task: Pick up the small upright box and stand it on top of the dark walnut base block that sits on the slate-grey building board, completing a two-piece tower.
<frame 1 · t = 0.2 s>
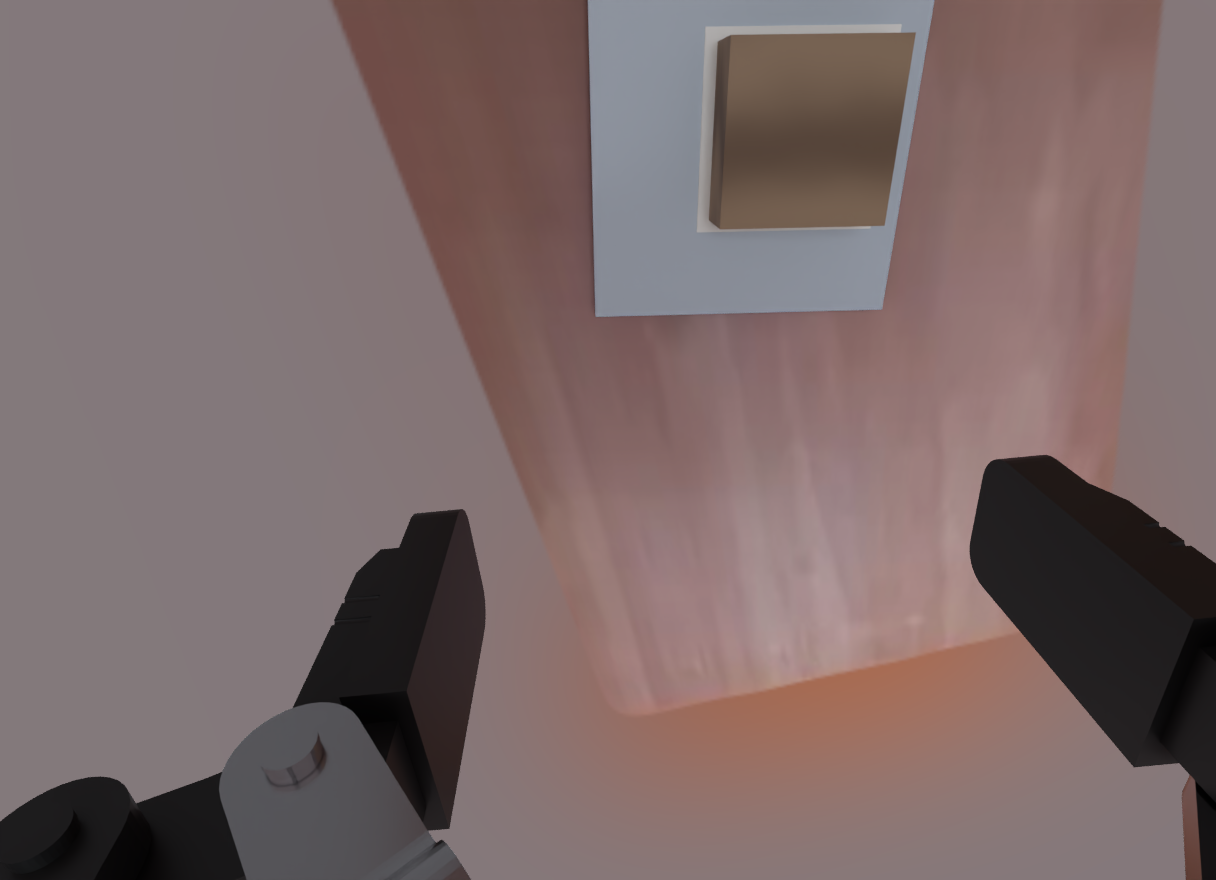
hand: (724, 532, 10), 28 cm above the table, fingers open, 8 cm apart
board: (746, 155, 34), on the table
base block: (793, 134, 33), point 1 cm above the table, touching board
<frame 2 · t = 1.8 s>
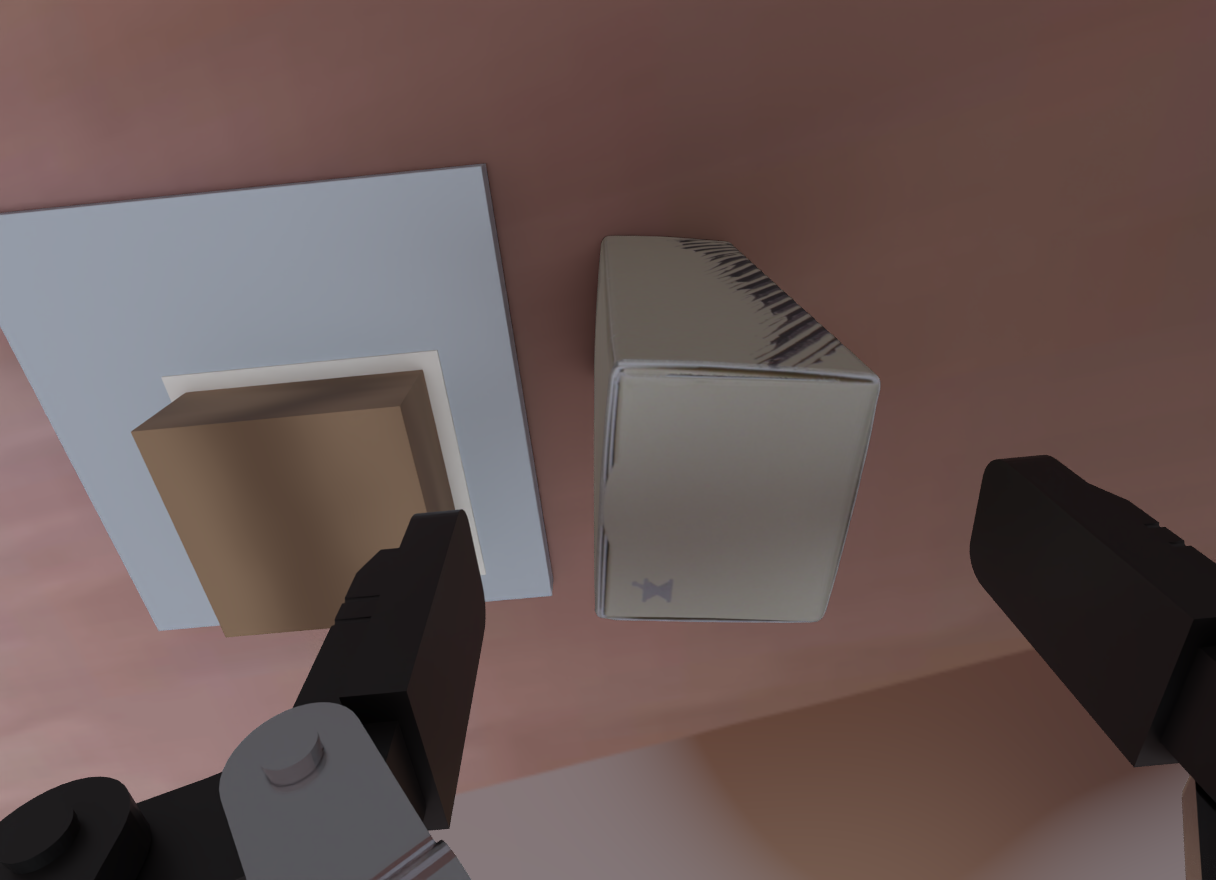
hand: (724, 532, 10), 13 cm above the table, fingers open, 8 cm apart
box: (657, 305, 23), on the table
board: (304, 423, 24), on the table
base block: (336, 484, 24), point 1 cm above the table, touching board
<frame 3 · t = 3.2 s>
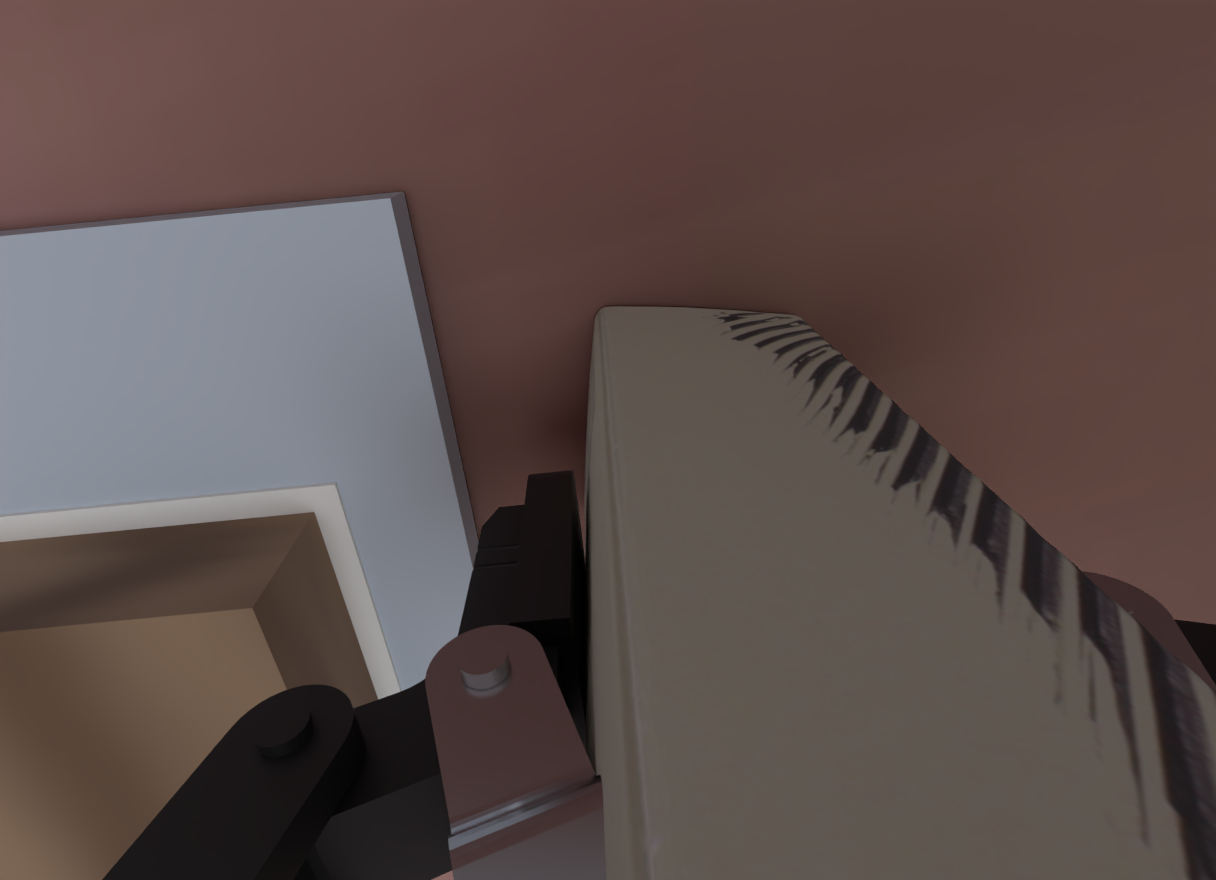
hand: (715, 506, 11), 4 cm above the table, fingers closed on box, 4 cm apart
box: (682, 407, 15), on the table, touching gripper
board: (146, 576, 16), on the table
base block: (195, 669, 16), point 1 cm above the table, touching board
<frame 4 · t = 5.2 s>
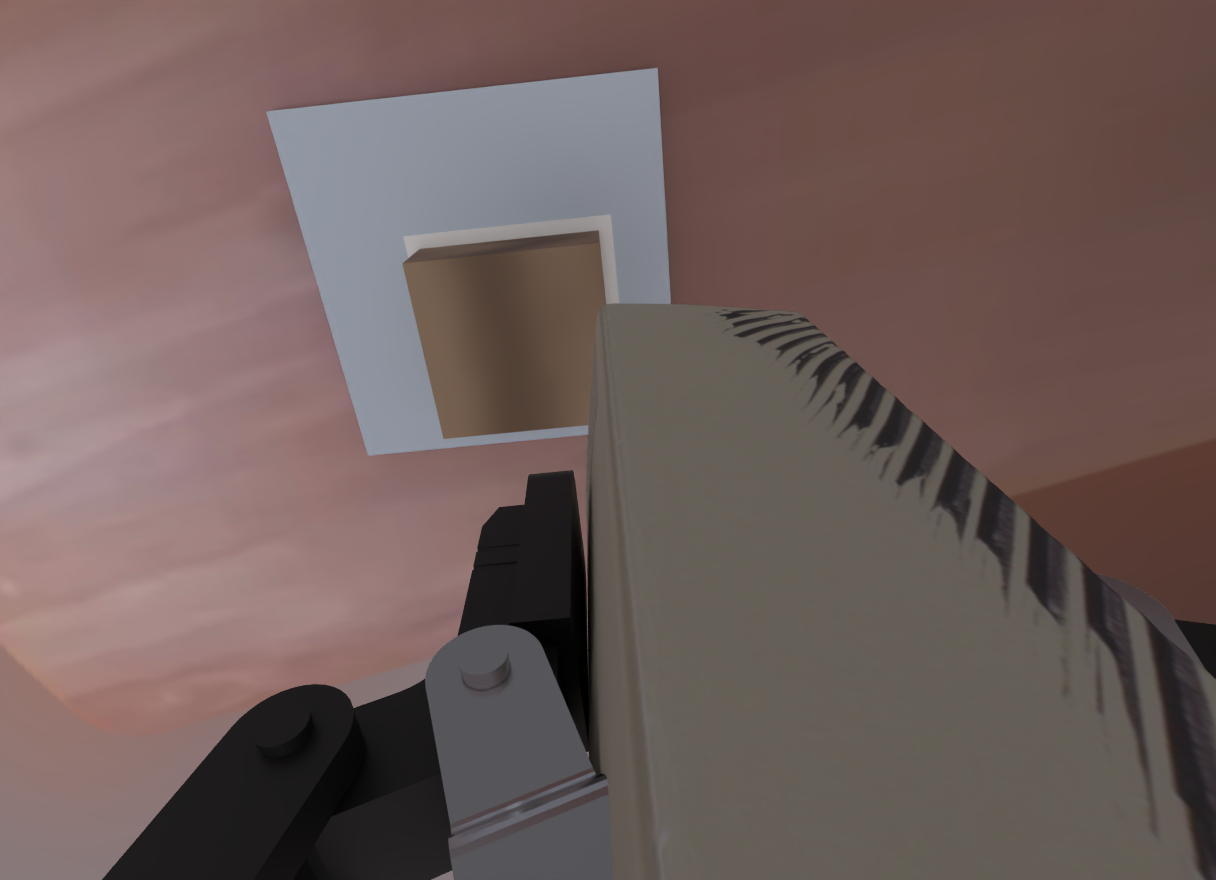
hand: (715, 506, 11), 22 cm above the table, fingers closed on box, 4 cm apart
box: (683, 404, 15), point 18 cm above the table, touching gripper
board: (497, 280, 31), on the table
base block: (522, 326, 31), point 1 cm above the table, touching board
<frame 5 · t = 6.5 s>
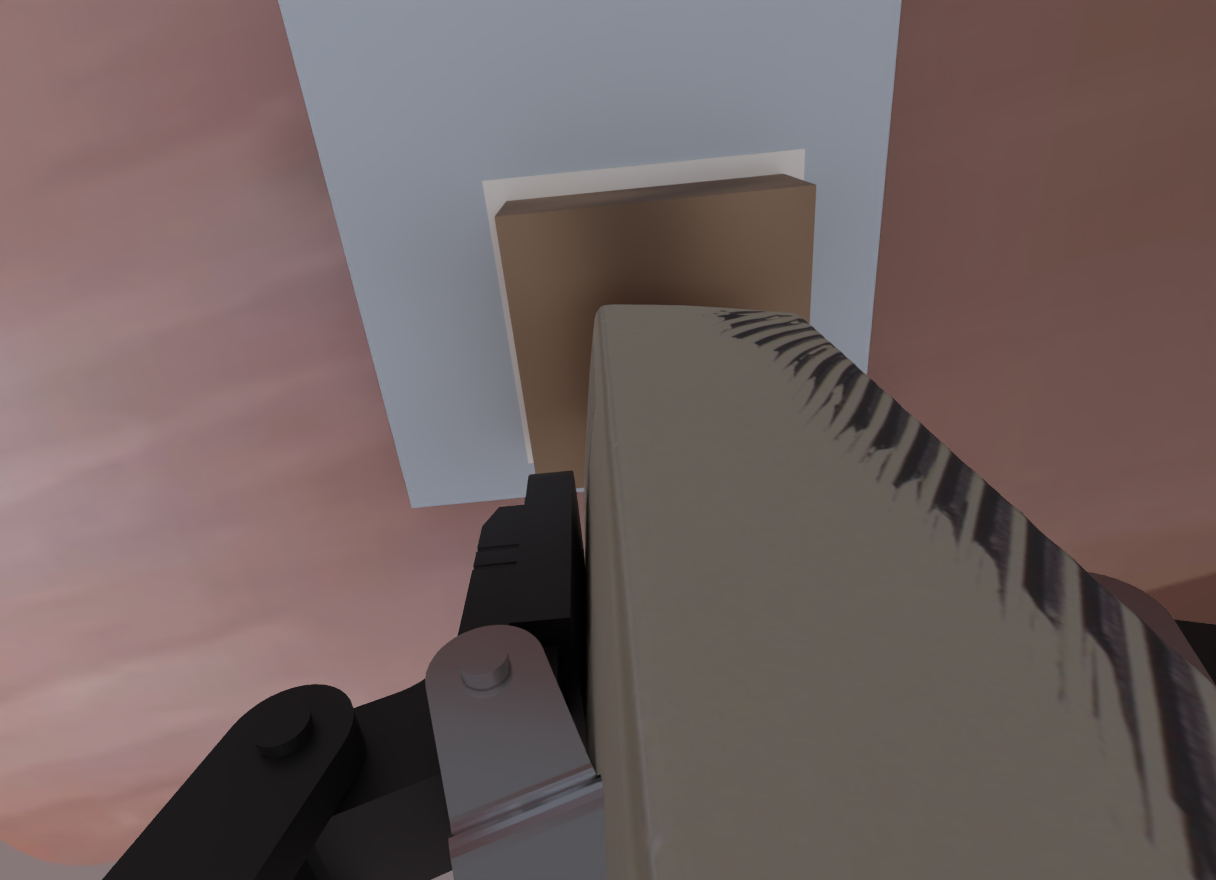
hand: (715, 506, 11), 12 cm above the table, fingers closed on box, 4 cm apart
box: (681, 405, 15), point 8 cm above the table, touching gripper
board: (614, 253, 21), on the table
base block: (652, 322, 21), point 1 cm above the table, touching board
when the fingers open (9 cm above the table, at t = 7.5 s): box stays where it is, resting on base block.
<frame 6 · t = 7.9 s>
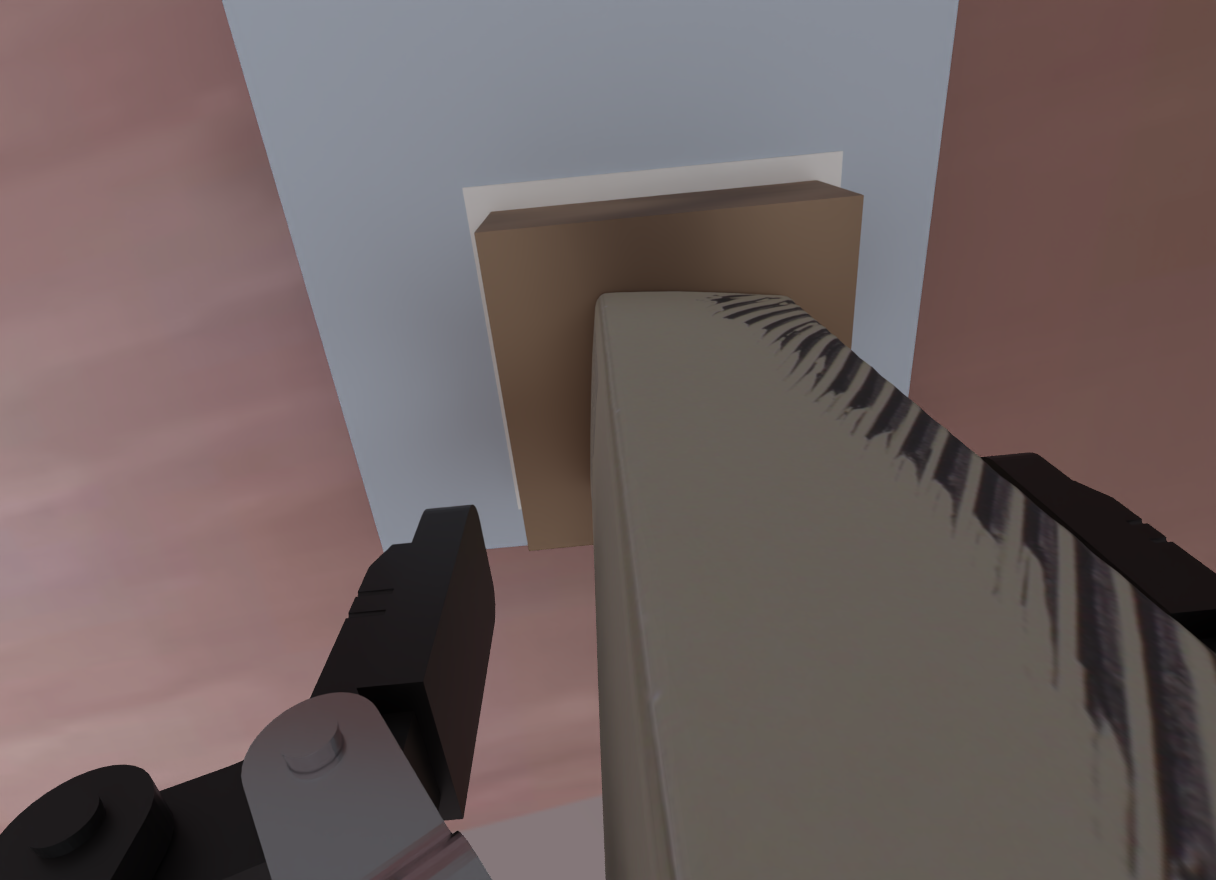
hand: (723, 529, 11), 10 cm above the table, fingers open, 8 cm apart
box: (680, 387, 16), point 4 cm above the table, touching base block
board: (617, 271, 18), on the table
base block: (662, 351, 18), point 1 cm above the table, touching board, box
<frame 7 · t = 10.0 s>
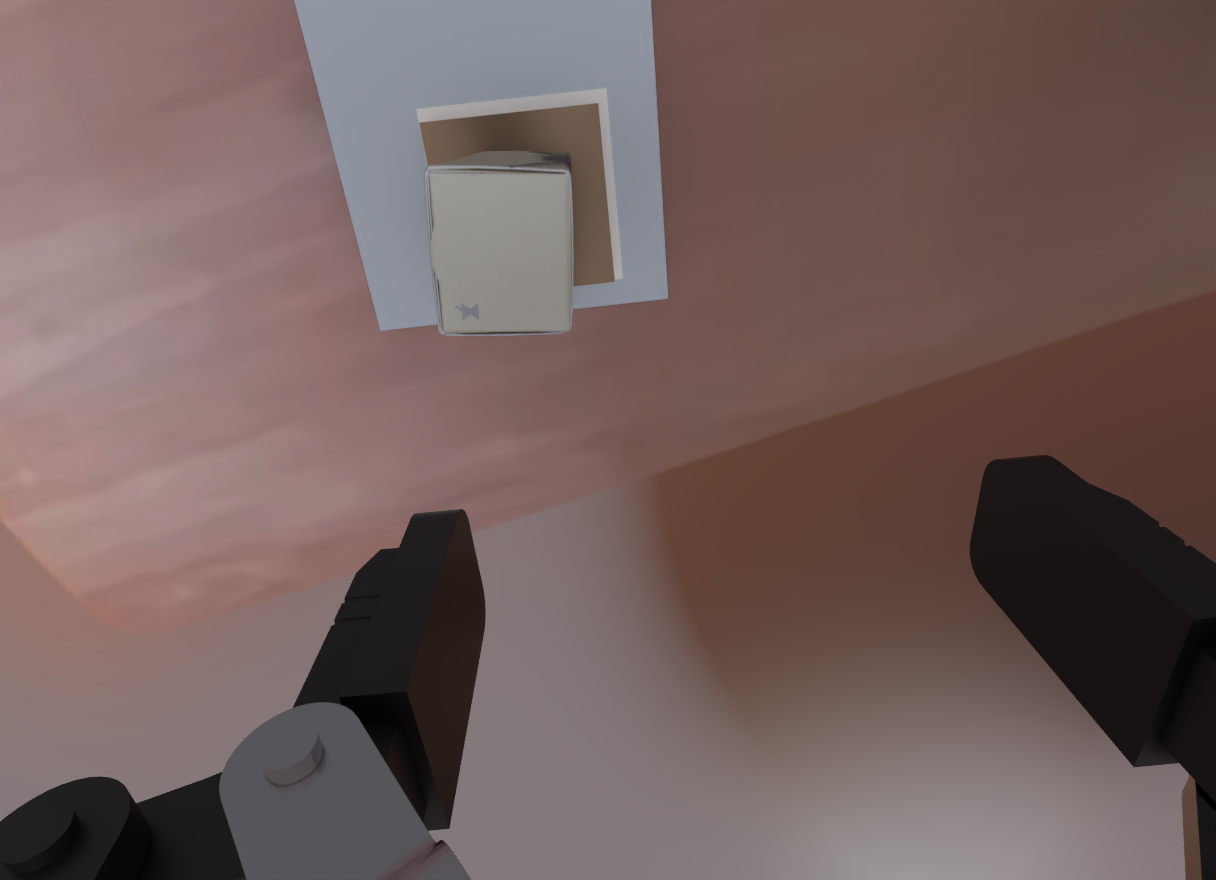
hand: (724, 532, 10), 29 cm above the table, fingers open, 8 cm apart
box: (525, 204, 32), point 4 cm above the table, touching base block
board: (501, 157, 34), on the table
base block: (525, 199, 34), point 1 cm above the table, touching board, box
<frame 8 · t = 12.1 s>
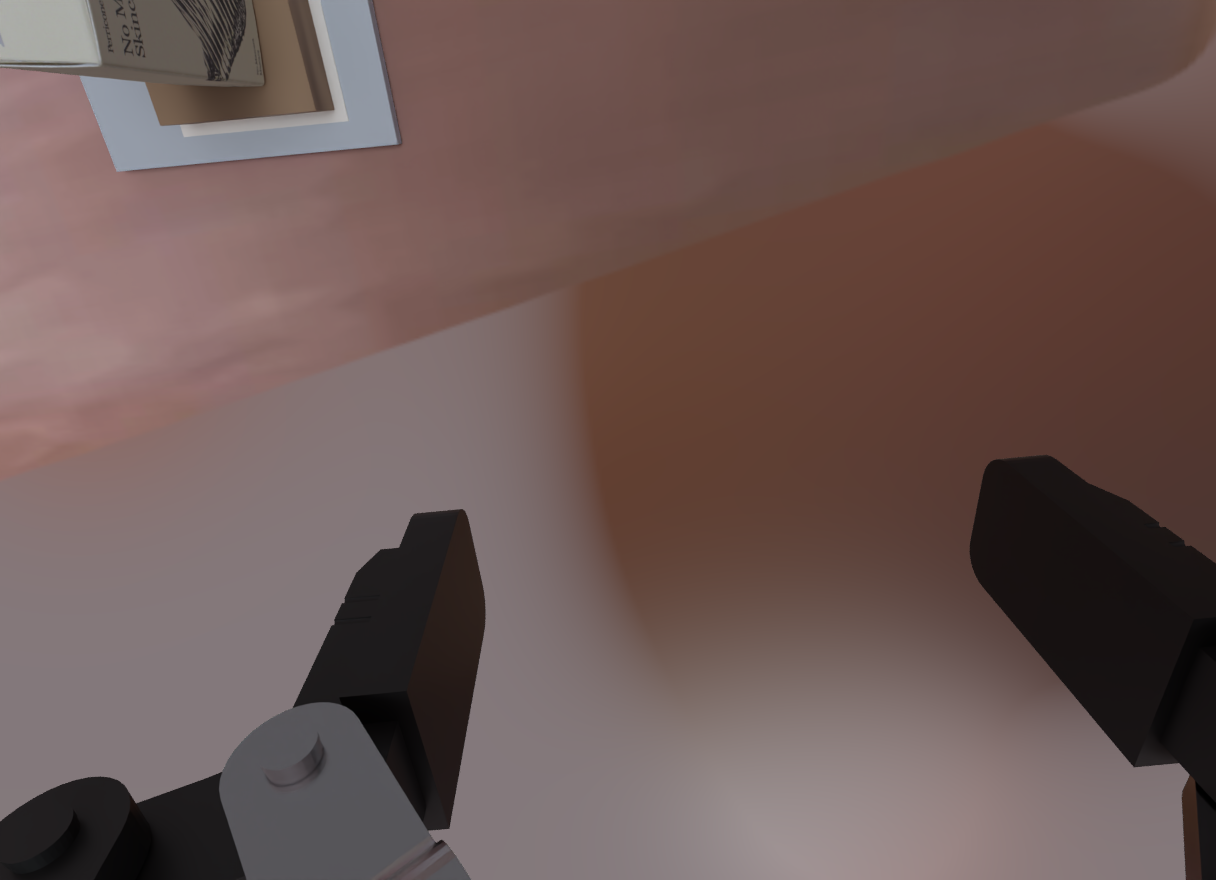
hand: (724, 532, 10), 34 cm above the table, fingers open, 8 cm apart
box: (214, 25, 32), point 4 cm above the table, touching base block
base block: (238, 32, 35), point 1 cm above the table, touching board, box
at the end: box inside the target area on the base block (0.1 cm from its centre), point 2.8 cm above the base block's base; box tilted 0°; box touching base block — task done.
